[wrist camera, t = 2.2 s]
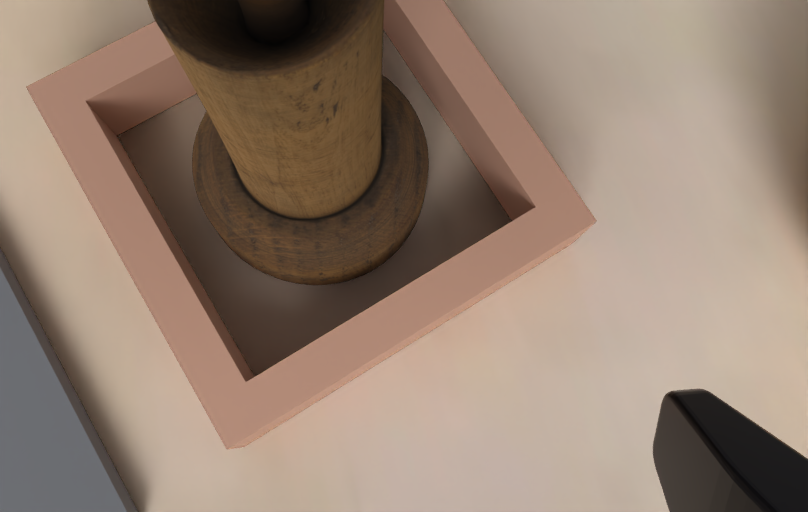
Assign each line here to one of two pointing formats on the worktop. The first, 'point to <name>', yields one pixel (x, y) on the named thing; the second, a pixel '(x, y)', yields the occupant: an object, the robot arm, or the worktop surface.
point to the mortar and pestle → (299, 133)
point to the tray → (374, 327)
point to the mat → (46, 423)
